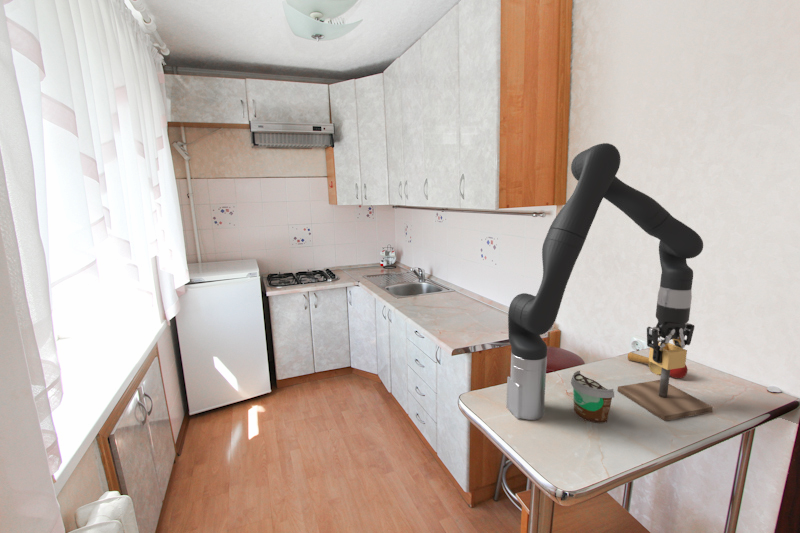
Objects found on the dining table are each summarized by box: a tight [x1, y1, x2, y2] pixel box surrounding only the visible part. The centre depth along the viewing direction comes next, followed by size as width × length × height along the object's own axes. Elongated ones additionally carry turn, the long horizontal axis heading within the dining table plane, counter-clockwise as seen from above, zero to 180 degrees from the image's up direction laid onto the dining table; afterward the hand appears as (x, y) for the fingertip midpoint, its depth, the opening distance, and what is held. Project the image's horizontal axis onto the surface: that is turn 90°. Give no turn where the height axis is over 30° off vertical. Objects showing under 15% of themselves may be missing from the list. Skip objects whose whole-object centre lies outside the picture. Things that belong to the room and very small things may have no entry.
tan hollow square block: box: [648, 342, 688, 370], centre depth 108 cm, size 6×6×5 cm
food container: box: [570, 370, 615, 424], centre depth 104 cm, size 12×6×10 cm, turn 19°
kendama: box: [627, 351, 688, 379], centre depth 129 cm, size 8×6×18 cm
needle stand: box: [617, 368, 714, 422], centre depth 109 cm, size 16×16×14 cm
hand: (666, 360), depth 108 cm, fingers closed on tan hollow square block, 6 cm apart
